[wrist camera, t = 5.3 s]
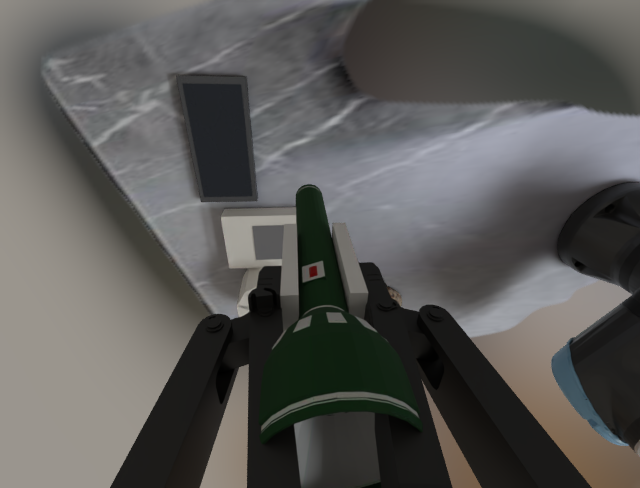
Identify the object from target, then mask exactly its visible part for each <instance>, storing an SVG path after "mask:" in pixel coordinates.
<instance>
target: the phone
mask: <svg viewBox="0 0 640 488" xmlns="http://www.w3.org/2000/svg"><path fill="white" fill-rule="evenodd" d="M176 78H177V83H178V88H179V93H180V98H181V103H182V108H183V113H184V118H185V123H186V128H187V133H188V139H189V144H190V149H191V154H192V159H193V164H194V169H195V174H196V179H197V184H198V189H199V194H200V199H201V202H237V201H257V199H258V195H257V185H256V174H255V163H254V153H253V142H252V131H251V120H250V110H249V99H248V88H247V78H246V77H243V76H188V75H178V76H176Z"/></svg>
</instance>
